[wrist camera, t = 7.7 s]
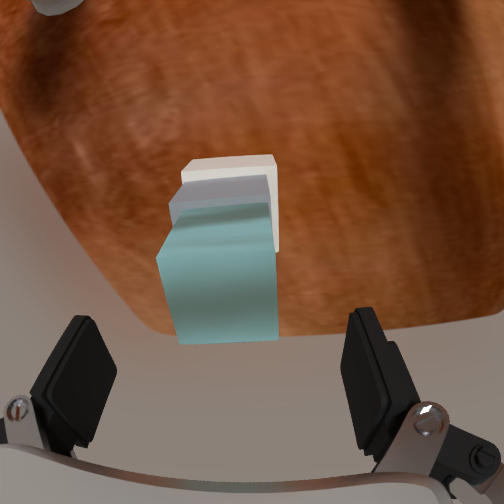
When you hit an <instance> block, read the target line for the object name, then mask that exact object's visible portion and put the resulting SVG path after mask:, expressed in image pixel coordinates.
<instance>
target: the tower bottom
mask: <svg viewBox="0 0 504 504" xmlns="http://www.w3.org/2000/svg"><path fill="white" fill-rule="evenodd" d="M263 174H266V176H267V181H268V186H269V191H270V198H271V214H272V231H273V239H274V245H275V252H279V227H278V186H277V165H276V162H275V160H274V157H273V155H251V156H233V157H219V158H207V159H195V160H192V161H191V162H190V163H189V164H188V165H187V166H186V167H185V168H184V169H183V170H182V171H181V176H182V185H183V184H184V182H189V181H197V180H207V179H216V178H227V177H238V176H250V175H263Z"/></svg>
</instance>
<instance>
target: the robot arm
mask: <svg viewBox="0 0 504 504" xmlns="http://www.w3.org/2000/svg"><path fill="white" fill-rule="evenodd" d="M340 368H341V375H342V379H343V383H344V387H345V391H346V396H347V400H348V404H349V409H350V413H351V417H352V422H353V427H354V431H355V436H356V441H357V445H358V448H359V449H360V450H361V449H363V450H364V455H365V456H368V455H373V458H374V461H375V462H377V464H376V465H375V467H374V468H373V470H372V471H371V473H364V474H356V475H348V476H339V477H331V478H322V479H313V480H299V481H284V482H256V483H255V482H254V483H242V482H240V483H239V482H237V483H236V482H211V481H197V480H185V479H176V478H167V477H160V476H153V475H146V474H140V473H135V472H129V471H124V470H119V469H114V468H110V467H105V466H101V465H97V464H93V463H89V462H85V461H81V460H78V459H77V457H76V455H75V452H74V450H73V447H74V444H75V445H76V446H79V447H83V448H88V445H89V442H92V440H93V438H94V435H95V432H96V429H97V426H98V423H99V421H100V418H101V415H102V412H103V409H104V407H105V404H106V401H107V398H108V395H109V393H110V390H111V388H112V385H113V383H114V380H115V377H116V374H117V368H116V365H115V363H114V361H113V359H112V357H111V355H110V353H109V351H108V349H107V347H106V345H105V343H104V341H103V339H102V336H101V334H100V332H99V330H98V328H97V325H96V323H95V321H94V320H92V319H91V317H89V316H82V315H76V316H74V317H73V319H72V320H71V322H70V324H69V325H68V327H67V328H66V330H65V331H64V333H63V335H62V336H61V338H60V340H59V341H58V343H57V345H56V346H55V348H54V350H53V351H52V353H51V355H50V356H49V358H48V360H47V361H46V363H45V365H44V367H43V369H42V370H41V372H40V374H39V376H38V377H37V379H36V381H35V383H34V385H33V387H32V389H31V390H30V394H31V395H32V397H31V398H29V397H27V396H25V395H18V396H15V397H13V398H12V399H10V401H8V403H7V404H6V406H5V408H4V417H3V418H1V419H0V504H453V502H452V499H459V500H460V501H461V502H462V503H463V504H504V464H503V463H502V462H501V455H500V452H499V450H498V448H497V447H496V446H495V445H494V444H493V443H491V442H489V441H486V440H484V439H482V438H480V437H477V436H475V435H473V434H471V433H468V432H466V431H464V430H462V429H459V428H457V427H455V426H453V425H451V424H449V423H450V420H449V415H448V414H447V411H446V410H445V409H444V408H443V407H442V406H441V405H439V404H437V403H434V402H430V401H427V402H421V401H420V398H419V396H418V393H417V391H416V389H415V386H414V383H413V381H412V379H411V376H410V374H409V371H408V369H407V367H406V364H405V362H404V360H403V357H402V355H401V353H400V351H399V348H398V346H397V345H396V343H395V342H394V341H387V339H386V337H385V335H384V332H383V330H382V328H381V325H380V323H379V321H378V319H377V317H376V314H375V312H374V310H373V308H372V307H364V308H356V309H355V311H354V313H350V315H349V320H348V326H347V332H346V338H345V343H344V349H343V354H342V359H341V367H340Z"/></svg>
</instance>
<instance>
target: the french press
mask: <svg viewBox="0 0 504 504" xmlns="http://www.w3.org/2000/svg"><path fill="white" fill-rule="evenodd" d="M29 1H32V3H33V5H34V7H35V9H36V10H37V12H39V13H42V14H44V15H46V16H51V15H59V14H63V13H65V12H67V11H69V10H71V9H73V8H75V7H77V6H78V5H79V4H80V3H82V2H83V1H84V0H29Z"/></svg>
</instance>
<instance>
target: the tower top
mask: <svg viewBox="0 0 504 504" xmlns="http://www.w3.org/2000/svg"><path fill="white" fill-rule="evenodd" d="M265 202H268V208H269V214H270V220H271V226H272V214H271V198H270V191H269V186H268V181H267V176H266V174H263V175H250V176H238V177H227V178H216V179H207V180H197V181H189V182H184V184H183V185H182V186H181V188H180V189H179V190H178V192H177V193H176V194H175V196H174V197H173V198H172V200H171V201H170V202H169V209H170V214H171V220H172V225H173V226H174V224H175V223H176V221H177V219H178V217H179V216H180V214H181V212H182V210H183V209H193V208H204V207H215V206H226V205H238V204H251V203H265ZM272 232H273V231H272Z"/></svg>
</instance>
